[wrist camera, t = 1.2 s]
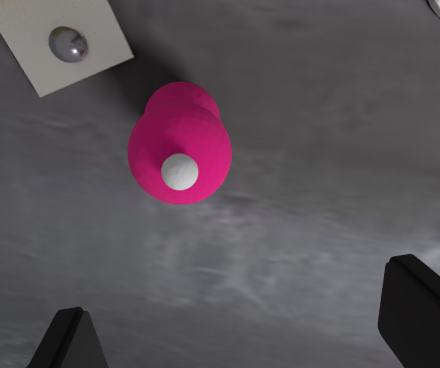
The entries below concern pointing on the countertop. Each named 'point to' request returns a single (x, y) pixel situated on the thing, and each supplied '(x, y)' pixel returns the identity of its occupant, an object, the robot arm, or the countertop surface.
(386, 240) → the countertop surface
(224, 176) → the pepper mill
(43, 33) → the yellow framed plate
